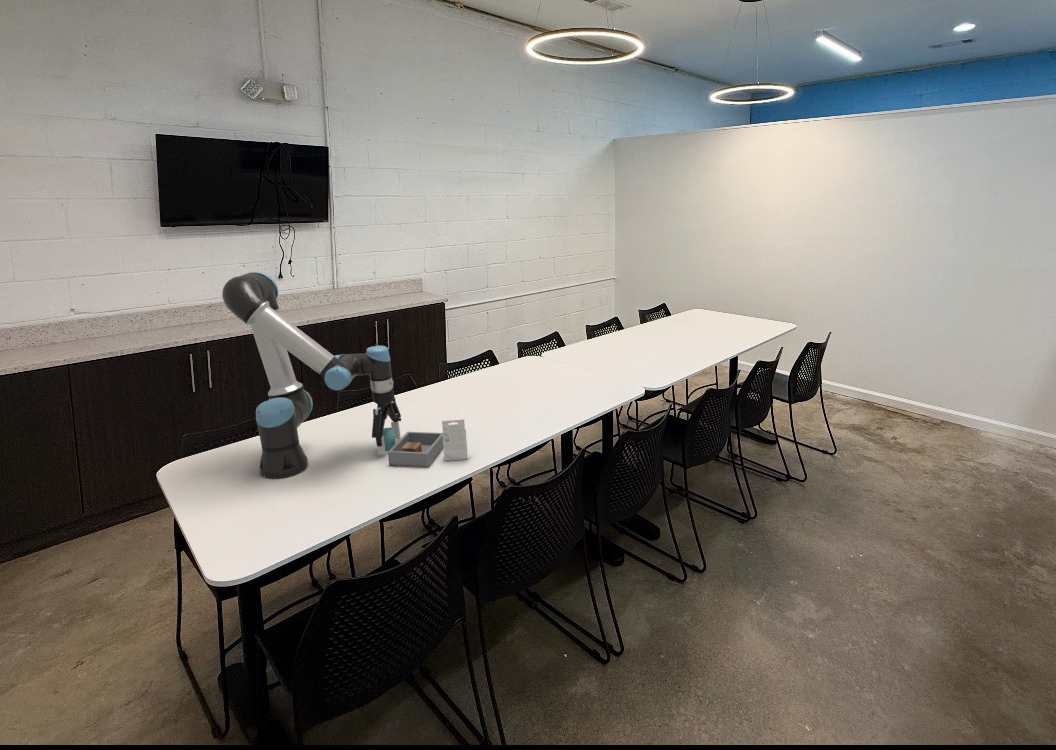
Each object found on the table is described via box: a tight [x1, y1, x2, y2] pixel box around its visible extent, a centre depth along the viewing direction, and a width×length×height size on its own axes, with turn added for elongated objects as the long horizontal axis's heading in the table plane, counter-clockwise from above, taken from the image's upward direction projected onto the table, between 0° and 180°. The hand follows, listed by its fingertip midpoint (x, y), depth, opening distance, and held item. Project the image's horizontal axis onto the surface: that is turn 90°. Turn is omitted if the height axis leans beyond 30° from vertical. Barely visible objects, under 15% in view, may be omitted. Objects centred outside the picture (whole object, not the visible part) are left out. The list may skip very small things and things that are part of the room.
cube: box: [402, 442, 422, 452], centre depth 200 cm, size 5×5×5 cm
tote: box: [387, 431, 444, 468], centre depth 204 cm, size 14×18×5 cm
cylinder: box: [382, 427, 397, 452], centre depth 211 cm, size 5×5×7 cm
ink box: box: [441, 419, 469, 462], centre depth 199 cm, size 4×8×15 cm, turn 96°
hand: (389, 445), depth 211 cm, fingers open, 13 cm apart
